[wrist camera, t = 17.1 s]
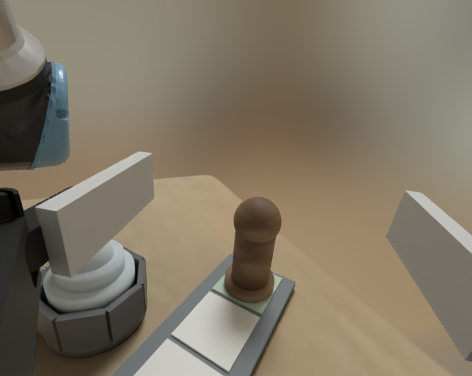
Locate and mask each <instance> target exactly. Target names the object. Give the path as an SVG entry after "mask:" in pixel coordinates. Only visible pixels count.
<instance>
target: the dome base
mask: <svg viewBox="0 0 472 376" xmlns="http://www.w3.org/2000/svg"><path fill="white" fill-rule="evenodd" d="M123 248H124V250H126V251H128V252H129V253H130V254H131V255H132V257H133V259H134V265H135V276H136V282H135V286H133V287H132V288H131V289H130V290H128V291H127V292H126V293H124V294H123V295H122V296H120V297H119V298H118V299H116V300H115V301H114V302H113V303H111V304H110V305H109V306H107V307H106V308H103V309H96V310H89V311H83V312H76V313H69V314H62V315H58V314H57V313H56V312H55V311H53V310H52V309H51V308H50V307H49V305H48V301H47V298H46V294H45V290H44V287H43V281H44V278H45V275H46V273H47V272H48V271H49V269H50V266H48V267H46V270H43V271H42V272H41V275H42V279H41V291H40V302H39V314H38V325H37V332H38V333H39V334H41V335H42V336H43V337H44V340H45V343H46V344H47V346H48V347H49V348H50V349H51V350H52V351H53V352H55V353H57V354H59V355H62V356H66V357H87V356H92V355H96V354H99V353H102V352H105V351H107V350H109V349H111V348H113V347H115V346H116V345H118V344H120V343H121V342H123V341H124V340H125V339H127V338H128V337H129V336H130V335H131V334H132V333H133V332H134V331H135V330H136V329H137V327H138V326H139V325H140V323H141V322H142V320H143V318H144V316H145V313H146V309H147V277H146V261H145V259H144V257H142V256H140V255H138V254H136V253H134V252H132V251H130V250H128V249H127V248H125V247H123Z"/></svg>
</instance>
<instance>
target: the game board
mask: <svg viewBox="0 0 472 376" xmlns="http://www.w3.org/2000/svg"><path fill="white" fill-rule="evenodd" d="M232 262H233V255H231V254H230V255H229V256H228V257H227V258H226V259H225V260H224V261H223V262H222V263H221V264H220V265H219V266H218V267H217V268H216V269H215V270H214V271H213V272H212V273H211V274H210V275H209V276H208V277H207V278H206V279H205V280H204V281H203V282H202V283H201V284H200V285H199V286H198V287H197V288H196V290H195V291H194V292H193V293H192V294H191V295H190V296H189V297H188V298H187V299H186V300H185V301H184V302H183V303H182V304H181V305H180V306H179V307H178V308H177V309H176V310H175V311H174V312H173V313H172V314H171V315H170V316H169V317H168V318H167V319H166V320H165V321H164V322H163V323H162V324H161V325H160V326H159V327H158V328H157V329H156V330H155V332H154V333H153V334H152V335H151V336H150V337H149V338H148V339H147V340H146V341H145V342H144V343H143V344H142V345H141V346H140V347H139V348H138V349H137V350H136V351H135V352H134V353H133V354H132V355H131V356H130V357H129V358H128V359H127V360H126V361H125V362H124V363H123V364H122V365H121V366H120V367H119V368H118V369H117V370H116V371H115V372H114V374H113V375H112V376H251V375H252V373H253V371H254V369H255V367H256V365H257V363H258V361H259V359H260V357H261V355H262V353H263V351H264V349H265V346H266V344H267V342H268V340H269V338H270V336H271V334H272V332H273V330H274V328H275V326H276V324H277V322H278V320H279V318H280V316H281V314H282V312H283V309H284V307H285V305H286V303H287V301H288V299H289V297H290V295H291V293H292V291H293V289H294V286H295V282H294V281H292V280H289V279H287V278H285V277H282V276H280V275H278V274H275V273H273V272H272V273H273V275H274V280H275V282H274V288H273V292H272V294H271V296H270V297H269V298H268V299H266V300H264V301H262V302H259V303H245V302H241V301H239V300H237V299H235V298H233V297H232V296H231V295H230V294H229V293H228V292H227V290H226V288H225V285H224V280H225V272H226V270H227V268H228V267H229V266H230V265H231V264H232Z"/></svg>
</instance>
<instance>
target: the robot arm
mask: <svg viewBox="0 0 472 376" xmlns="http://www.w3.org/2000/svg"><path fill="white" fill-rule="evenodd" d="M69 155H70V139H69V111H68V86H67V70H66V68H65V67H64V66H62V65H60V64H56V63H55V62H48V63H47V60H46V56H45V52H44V50H43V47H42V46H41V43H40V42H39V41H38V40H37V39H36V38H35V37H34V36H33V35H31V34H30V33H29V32H27V31H25V30H24V29H22V28H21V27H19V26H18V25H16V22H15V19H14V16H13V13H12V10H11V6H10V3H9V0H0V171H4V170H25V169H27V170H33V169H35V168H40V167H49V166H57V165H60V164H62V163H64V162H66V160H67V159H68V158H69ZM152 162H153V161H152V153H147V152H137V153H135V154H133V155H131V156H129V157H128V158H126V159H124V160H122V161H120V162H118V163H116V164H115V165H113V166H111V167H109V168H107V169H105V170H103V171H101V172H100V173H98V174H96V175H94V176H92V177H90V178H88V179H87V180H85V181H83V182H81V183H79V184H77V185H75V186H72V187H69V188H66V189H64V190H63V191H61V192H59V193H58V194H55V195H53V196H51V197H50V198H49V199H46V200H44V201H42V202H40V203H38V204H36V205H34V206H32V207H30V208H28V209H27V210H25V211H24V210H23V207H22V203H21V200H20V196H19V193H18V191H17V190H15V189H13V188H0V376H33V371H34V359H35V348H36V336H37V325H38V314H39V302H40V291H41V279H42V275H41V271H40V267H41V266H43V265H44V264H45V263H46V262H48V261H49V264H50V268H51V272H52V274H55V275H60V276H65V277H70V278H72V277H73V276H74V275H75V274H76V273H77V272H78V271H79V270H80V269H81V268H82V267H83V266H84V265H85V264H86V263H87V262H88V261H89V260H90V259H91V258H92V257H93V256H94V255H95V254H97V253H98V252H99V251H100V250H101V249H102V248H103V247H104V246H105V245H106V244H107V243H108V242H109V241H110V240H111V239H112V238H113V237H114V236H115V235H116V234H117V233H118V232H119V231H120V230H121V229H122V228H123V227H125V226H126V225H127V224H128V223H129V222H130V221H131V220H132V219H133V218H134V217H135V216H136V215H137V214H138V213H139V212H140V211H141V210H142V209H143V208H144V207H145V206H146V205H147V204H148V203H149V202H150V201H152V200H153V199H154V186H153V163H152ZM386 237H387V239H388V240H389V242H390V243H391V245H392V246H393V248H394V250H395V251H396V253H397V254H398V256H399V258H400V259H401V261H402V262H403V264H404V265H405V267H406V269H407V270H408V272H409V273H410V275H411V276H412V278H413V280H414V281H415V283H416V284H417V285H418V287H419V289H420V291H421V292H422V294H423V295H424V297H425V298H426V300H427V301H428V303H429V305H430V306H431V308H432V309H433V311H434V312H435V314H436V316H437V317H438V319H439V320H440V322H441V323H442V325H443V326H444V328H445V330H446V331H447V333H448V334H449V336H450V337H451V339H452V341H453V342H454V343H455V345H456V347H457V348H458V350H459V351H460V353H461V355H462V356H463V357H464V359H465V360H467V361H471V362H472V235H470V234H469V233H468V232H467V231H466V230H465V229H463V228H462V227H461V226H460V225H459V224H458V223H456V222H455V221H454V220H453V219H452V218H450V217H449V216H448V215H447V214H446V213H445V212H443V211H442V210H441V209H440V208H439V207H438V206H436V205H435V204H434V203H433V202H432V201H430V200H429V199H428V198H427V197H426V196H425V195H423V194H422V193H419V192H412V191H404V194H403V197H402V199H401V201H400V204H399V206H398V209H397V211H396V214H395V216H394V219H393V221H392V224H391V226H390V228H389V231H388V233H387V236H386Z"/></svg>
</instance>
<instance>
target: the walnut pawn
mask: <svg viewBox="0 0 472 376" xmlns="http://www.w3.org/2000/svg"><path fill="white" fill-rule="evenodd" d="M234 227H235V230H236V232H235V242H234V252H233V262H232V264H231V265H230V266H229V267H228V268H227V270H226V272H225V280H224V285H225V288H226V290H227V292H228V293H229V294H230V295H231V296H232V297H233V298H235V299H237V300H239V301H241V302H245V303H259V302H262V301H264V300H266V299H268V298H269V297H270V296H271V294H272V292H273V288H274V282H275V280H274V275H273V273H272V272H271V271H270V268H271V262H272V257H273V251H274V245H275V239H276V236H277V234H278V233H279V231H280V227H281V215H280V212H279V210H278V208H277V207H276V205H275V204H274V203H273V202H271V201H270V200H268V199H266V198H262V197H253V198H249V199H247V200H245V201H244V202H242V203H241V204H240V205H239V207H238V208H237V210H236V212H235V215H234Z"/></svg>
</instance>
